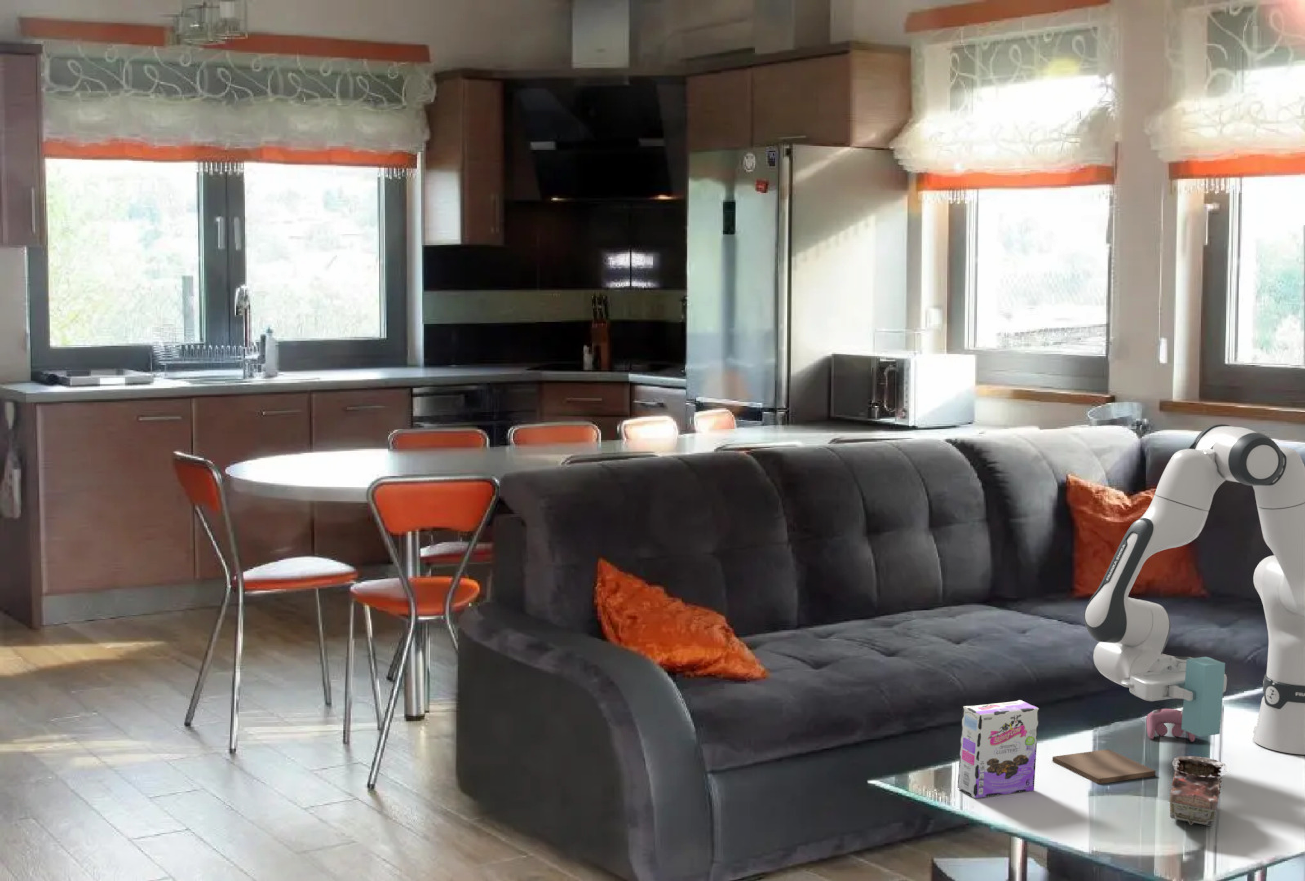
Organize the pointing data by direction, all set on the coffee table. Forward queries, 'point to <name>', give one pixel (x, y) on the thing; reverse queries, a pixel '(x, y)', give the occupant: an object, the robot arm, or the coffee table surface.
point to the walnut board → (1103, 766)
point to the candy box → (998, 748)
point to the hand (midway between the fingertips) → (1206, 695)
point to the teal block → (1203, 696)
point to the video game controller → (1162, 716)
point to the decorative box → (1196, 789)
